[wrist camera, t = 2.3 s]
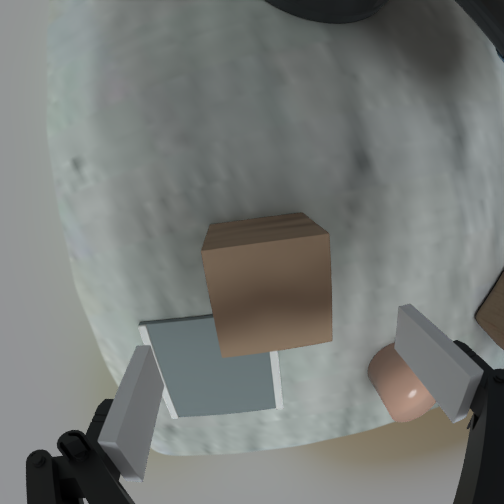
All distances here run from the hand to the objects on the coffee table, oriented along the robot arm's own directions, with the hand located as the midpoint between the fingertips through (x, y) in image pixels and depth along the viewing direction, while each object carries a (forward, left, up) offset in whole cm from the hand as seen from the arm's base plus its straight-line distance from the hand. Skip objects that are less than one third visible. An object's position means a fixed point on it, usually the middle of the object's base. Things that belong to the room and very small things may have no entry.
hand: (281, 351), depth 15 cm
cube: (0, 0, -13) cm, 13 cm away
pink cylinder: (+15, +14, -13) cm, 24 cm away
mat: (+11, -6, -13) cm, 18 cm away
